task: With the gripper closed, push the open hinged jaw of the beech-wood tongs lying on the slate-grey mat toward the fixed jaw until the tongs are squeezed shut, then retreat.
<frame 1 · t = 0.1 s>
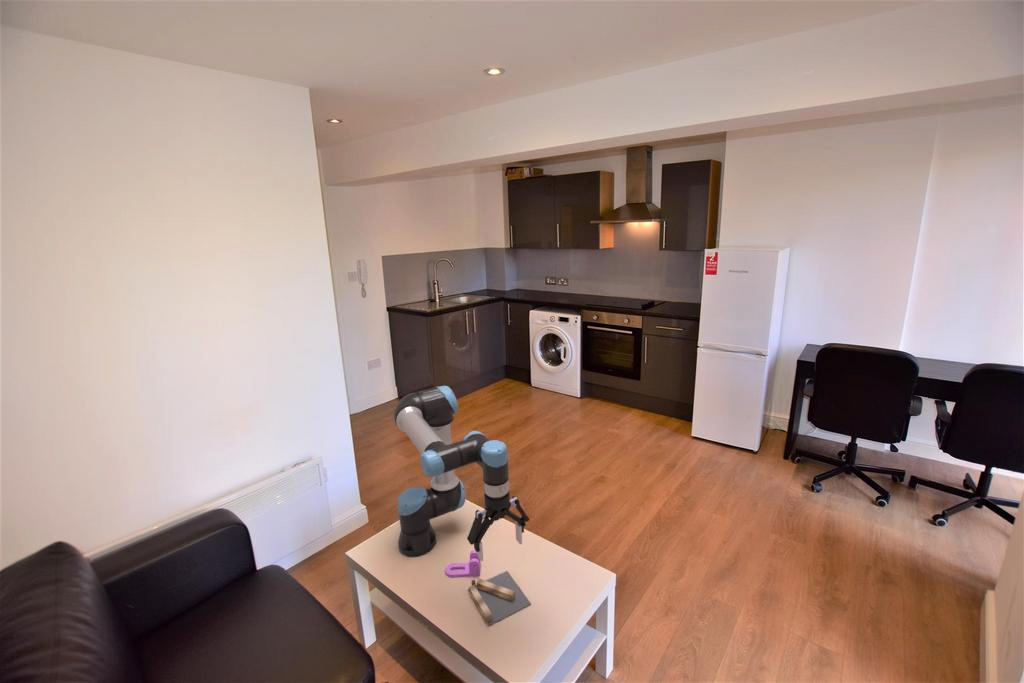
hand: (500, 549, 142), 28 cm above the table, fingers open, 13 cm apart
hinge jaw: (495, 589, 160), point 2 cm above the table, hinge at 35.0°
tongs base: (474, 589, 162), resting on mat
mat: (498, 597, 159), on the table
bracket: (463, 571, 171), on the table
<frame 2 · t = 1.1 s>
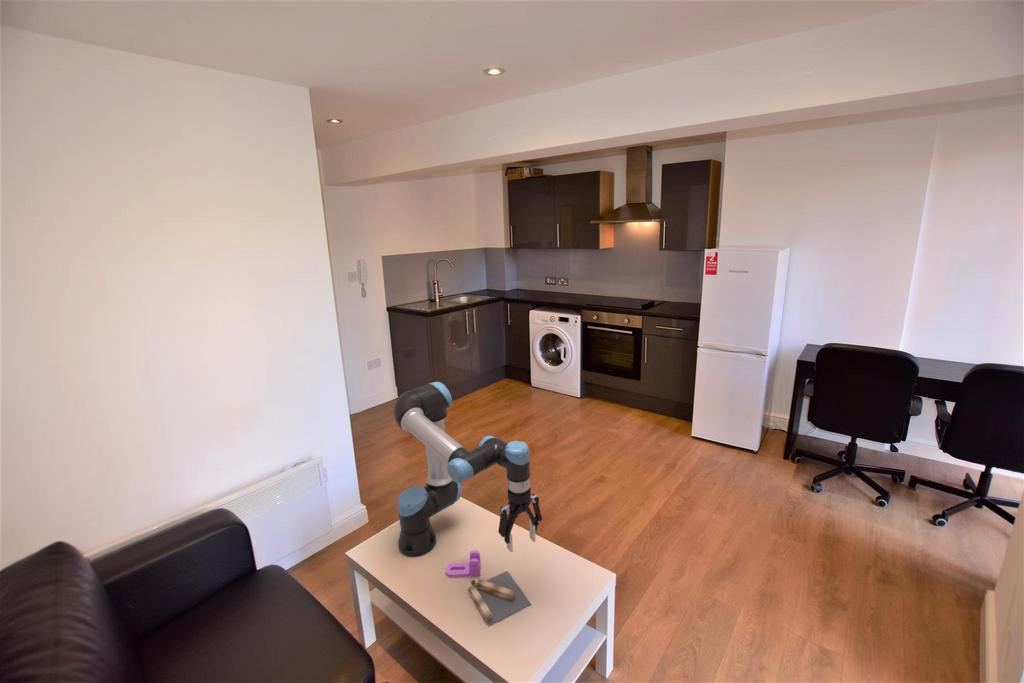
hand: (521, 544, 156), 19 cm above the table, fingers open, 8 cm apart
nothing on the table moved.
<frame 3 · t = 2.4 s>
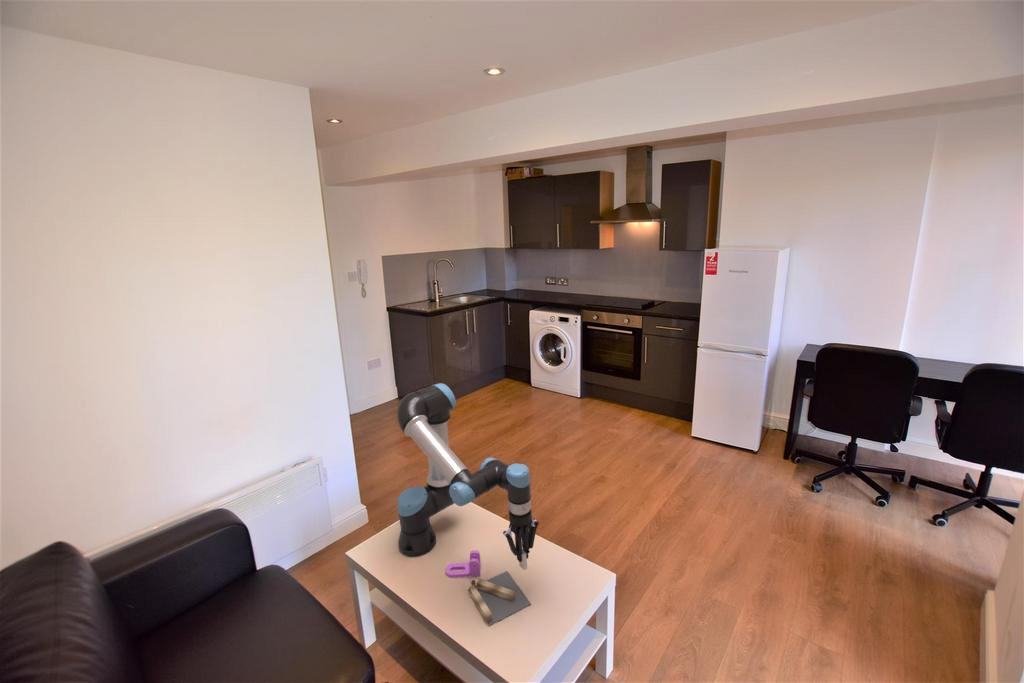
hand: (523, 566, 159), 10 cm above the table, fingers closed
nothing on the table moved.
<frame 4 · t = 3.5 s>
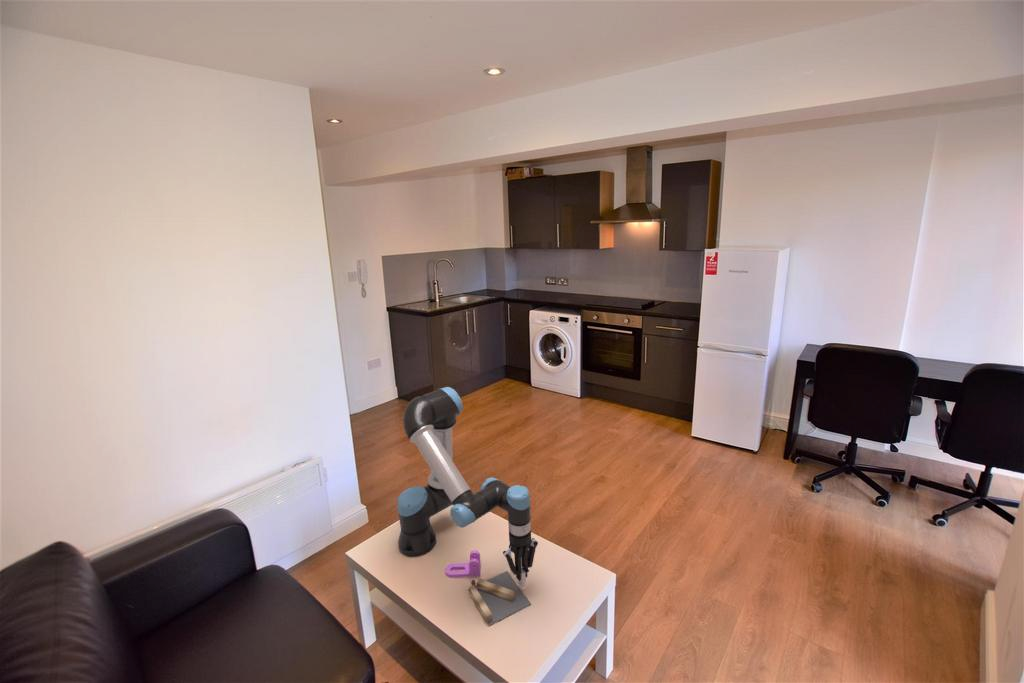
hand: (522, 585, 161), 2 cm above the table, fingers closed
nothing on the table moved.
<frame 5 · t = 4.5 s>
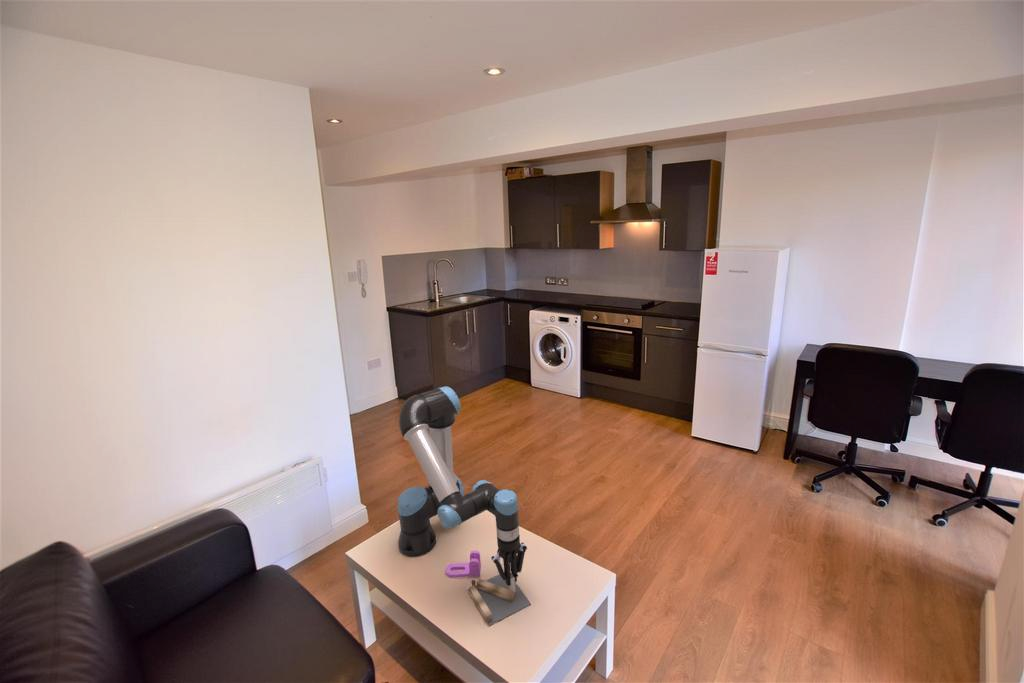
hand: (511, 590, 159), 2 cm above the table, fingers closed
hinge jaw: (495, 590, 159), point 2 cm above the table, hinge at 34.2°, touching gripper
everything else where it was.
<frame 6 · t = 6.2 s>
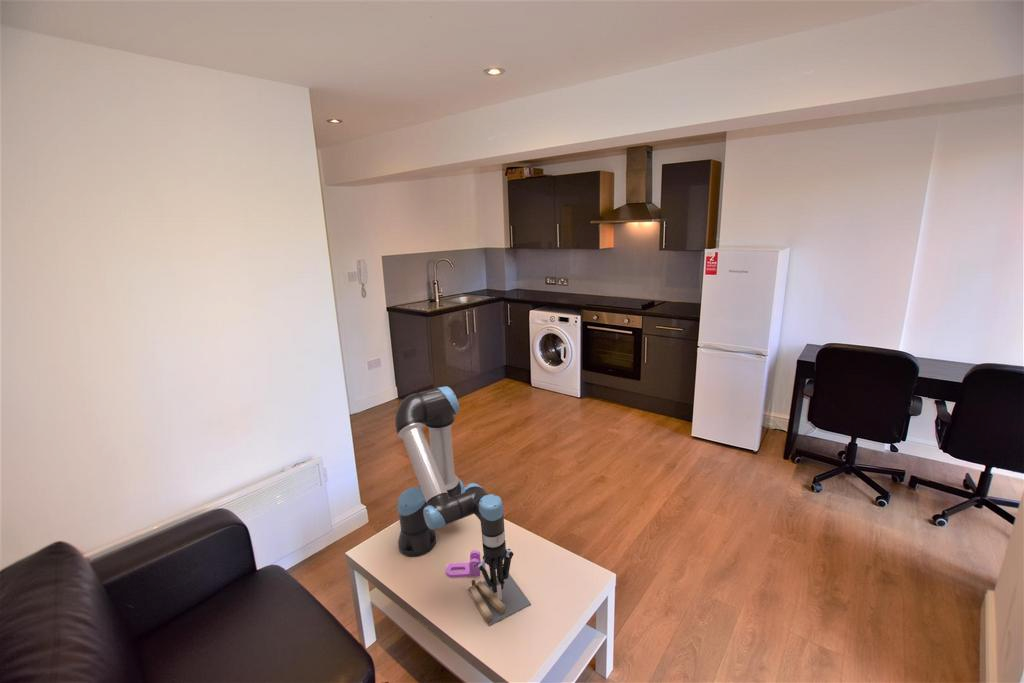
hand: (498, 597, 156), 2 cm above the table, fingers closed
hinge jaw: (490, 597, 157), point 2 cm above the table, hinge at 10.5°, touching gripper
everything else where it was.
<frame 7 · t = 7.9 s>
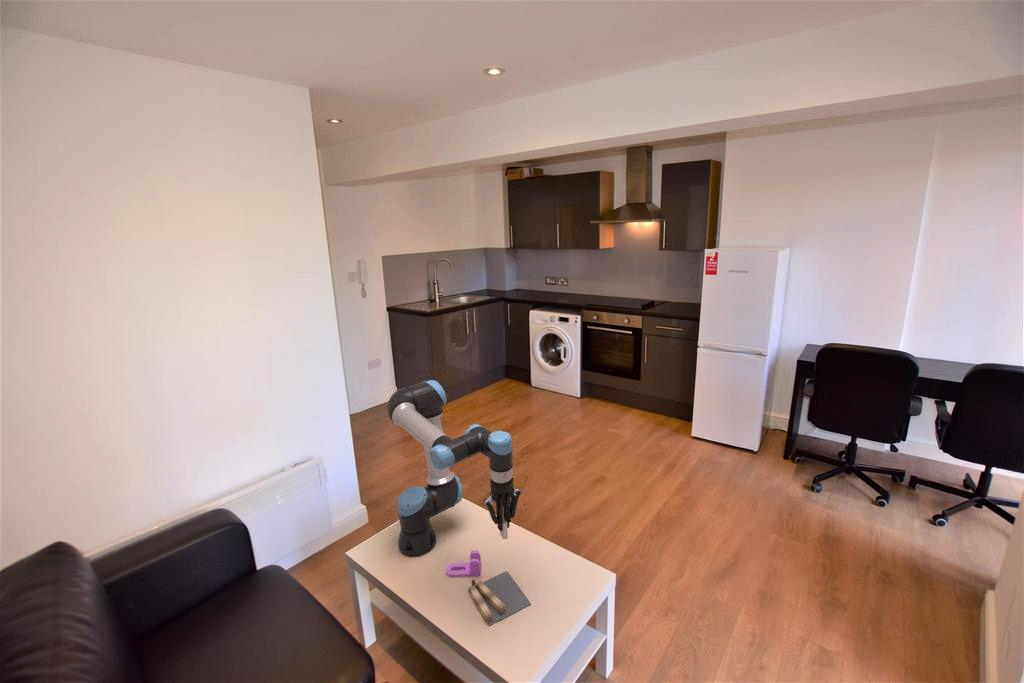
hand: (503, 536, 156), 22 cm above the table, fingers closed
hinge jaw: (490, 597, 157), point 2 cm above the table, hinge at 10.4°
everything else where it was.
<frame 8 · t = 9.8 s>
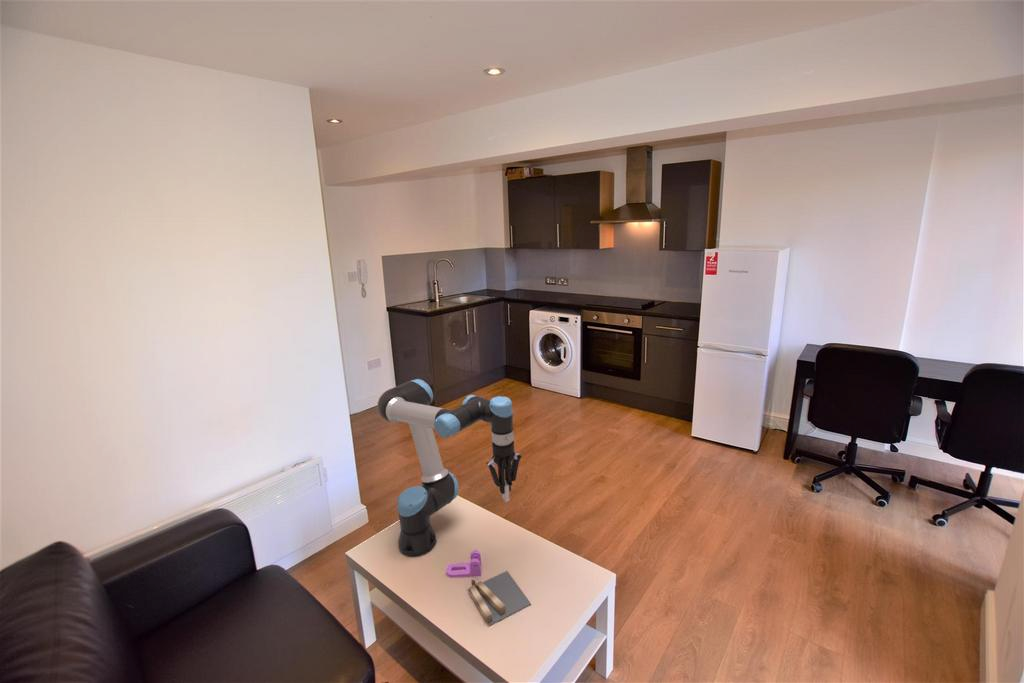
hand: (505, 499, 164), 29 cm above the table, fingers closed
nothing on the table moved.
at the end: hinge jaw at +10° (first picture: +35°); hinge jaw touching nothing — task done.
